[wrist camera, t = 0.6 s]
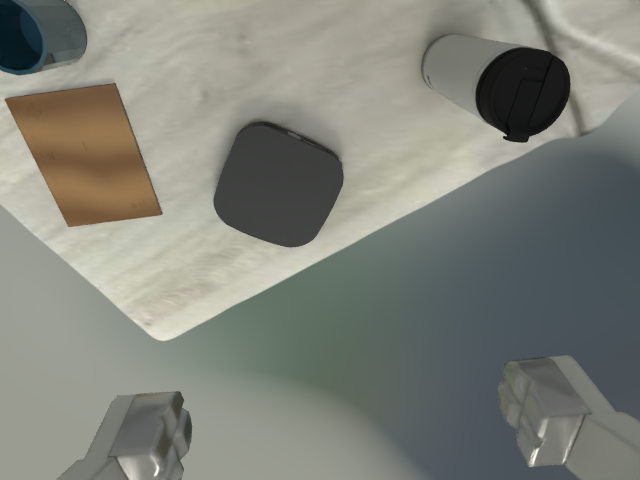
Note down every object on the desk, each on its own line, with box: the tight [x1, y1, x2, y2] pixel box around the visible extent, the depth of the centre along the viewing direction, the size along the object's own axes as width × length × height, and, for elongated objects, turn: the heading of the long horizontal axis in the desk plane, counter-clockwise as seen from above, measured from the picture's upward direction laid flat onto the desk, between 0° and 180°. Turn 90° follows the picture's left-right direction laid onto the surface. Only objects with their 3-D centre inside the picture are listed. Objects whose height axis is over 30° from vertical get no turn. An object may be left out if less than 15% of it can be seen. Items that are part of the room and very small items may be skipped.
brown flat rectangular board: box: [4, 83, 162, 227], centre depth 50 cm, size 17×13×1 cm
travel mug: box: [422, 34, 570, 143], centre depth 38 cm, size 6×7×20 cm
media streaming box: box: [214, 122, 344, 247], centre depth 52 cm, size 15×15×3 cm
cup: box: [0, 0, 87, 75], centre depth 40 cm, size 7×7×8 cm
